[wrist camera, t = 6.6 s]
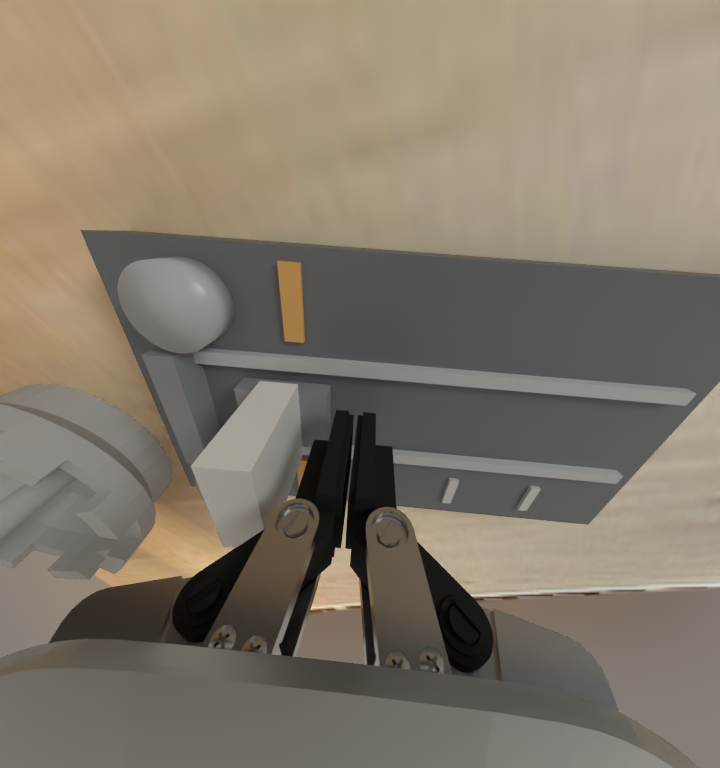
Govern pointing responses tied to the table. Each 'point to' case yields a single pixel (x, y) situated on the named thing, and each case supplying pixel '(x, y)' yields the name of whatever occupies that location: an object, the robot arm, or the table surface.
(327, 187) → the table surface
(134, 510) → the flag stand
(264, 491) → the fader tab
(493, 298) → the console
